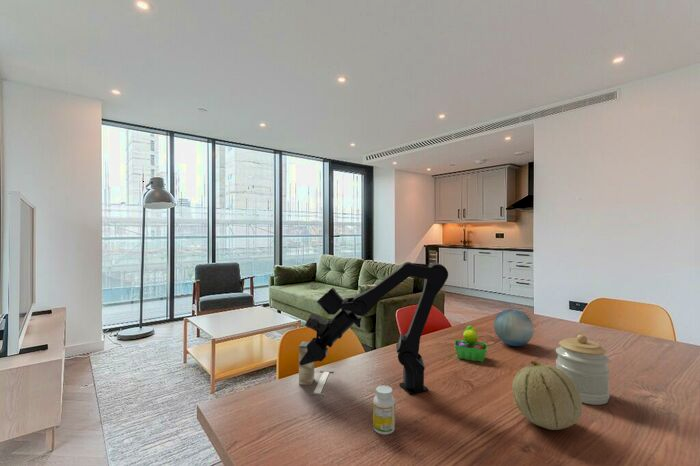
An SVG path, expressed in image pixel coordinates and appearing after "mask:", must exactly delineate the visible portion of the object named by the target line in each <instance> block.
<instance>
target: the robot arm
mask: <svg viewBox="0 0 700 466" xmlns="http://www.w3.org/2000/svg"><path fill="white" fill-rule="evenodd" d="M410 277H415V278H419V279H423V288H422V291H421V295H420V297H419V300H418V303H417V306H416V308H415V311H414V315H412V316H413V317H412V320H411V322H410V325H409V327H408V330H407V331H406V333H405V334H403V333H400V334H399V340H398V342H396V344H395V345H396V353H397V360H398V362H399V364H400V365H402V366H403V370H402V371H403V373H402V375H403V380H402V381H403V382H399V387H400V388H402V389H403V390H404V391H405V392H407V393H408V394H409V395H414V394H418V393H420V394H421V393H424V392H427V391H429V388H428V387H427V386H425V369H426V367H425V364H424V359H423V356H422V355H421V353H419V351H420V344H421V343H420V342H421V337H422V335H423V331H424V329H425V325H426V323H427V320H428V318H429V316H430V313H431V310H432V307H433V304H434V301H435V299H436V297H437V295H438V293H439V292H440V291H441V290H442V289H443V287H444V285H445V283H446V281H447V280H448V277H449V272H448V270H447V268H446V267H445V266H444V265H442V264H441V263H439V262H431V263H429V264H425V263H415V262H409V261H407V262H406V261H405V262H404V263H403V264H402V265H401V266H399V267H398V268H397V269H396V270H395V271H393V272H391V274H389V275H387V277H385V278H384V279H383V280H381V281H380V282H378V283H377V284H375V285H374V286H373V287H371V288H369V289H365V290H364V291H362V292H360V293H358V294H357V295H355V296H354V297H345V298H343V297H342V296H341V295H340V294H339V293H338V292H337V290H336V289H335V287H332V288H330V289H329V290H328V291H327V292H325V293H324V294H323V295H322V296H320V298H318V300H317V301H316V303H317V305H318V306H320V308H322V310H324V312H325V313H326V314H327V315H328V316H329V315H330V316H331V315H333V316H334V315H335V316H334V317H333V318H331V319H329V320H326V319H324V318H323V317H320V316H319V315H317V314H315V313H311V314H310V315H309V316H308V318H307V320H306V322H305V324H304V325H305V327H306V328H309V329H312V330H313V331H315V332H316V335H315V336H316V337H313V338H312V339H311V340H310V341H308V342H309V343H308V344H307V353H306V354H305V355H304V357H303V358H302V359H301V361H300V362H299V361H298V365H299V364H300V365H305V364H308V363H312V362H314V363H315V362H322V361H323V360H325V359H326V357H327V355H328V352H329V348H332V347H333V345H334V343H335V342H336V341H338V339H339V340H340V339H341V338H342V337H343V335H344V334H345V333H346V332H347V331H349V329H350V328H352V326H353V325H355V326H357V328H358V329H359V328H361V327H362V318H363V317H364V316H365V315H367V314H368V313H369V312H370V311H371V309H373V308H374V306H375V305H376V304H377V303H378V302H379V300H381V299H382V298H383V297H384V296H385V295H387V294H389V292H391V291H392V290H394V289H395V288H396V287H397V286H399V285H400V284H401V283H403V282H404V281H406V280H407V279H408V278H410Z"/></svg>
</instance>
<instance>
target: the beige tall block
mask: <svg viewBox="0 0 700 466" xmlns="http://www.w3.org/2000/svg"><path fill="white" fill-rule="evenodd" d="M309 342H310V341H301V343H300V344H299V345H298V384H299V385H307V386H308V385H309V386H312V384H313V382H314V381H315V362H312V363H308V364H305V365H300V364H299V362H300V361H301V359H302V358H303V357H304V355H305V354H306V353H307V344H308V343H309Z"/></svg>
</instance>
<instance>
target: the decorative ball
mask: <svg viewBox="0 0 700 466" xmlns="http://www.w3.org/2000/svg"><path fill="white" fill-rule="evenodd" d="M493 328H494V329H493V330H494V333H495V334H496V336H497V337H498V339H499V340H500V341H501V342H503V343H504V344H506V345H509V346H512V347H522V346H524V345H526V344H528V343H529V342H530V341H531V339H532V338H533V336H534V333H535V330H534V329H535V328H534V324H533V322H532V320H531V318H530V317H529V316H528V315H527V314H526V313H525V312H523V311H520V310H518V309H514V308H509V309H504V310H502V311H501V312H499V313H498V314H497V315H496V317H495V318H494V321H493Z"/></svg>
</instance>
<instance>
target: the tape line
mask: <svg viewBox="0 0 700 466" xmlns="http://www.w3.org/2000/svg"><path fill="white" fill-rule="evenodd" d="M319 372H320V373H322V374H321V376H320V379H319V381H318V382H317V385H316V387H315V388H314V389H315V390H314V391H313V392H309V393H308V394H309V396H318V397H319V396H321V397H324V395H325V393H322V391H323V388H324V387H325V383H326V381H327V379H328V377H329V375H330V373H331V374H333V373H334V370H322V369H321V370H320V371H319Z"/></svg>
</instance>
